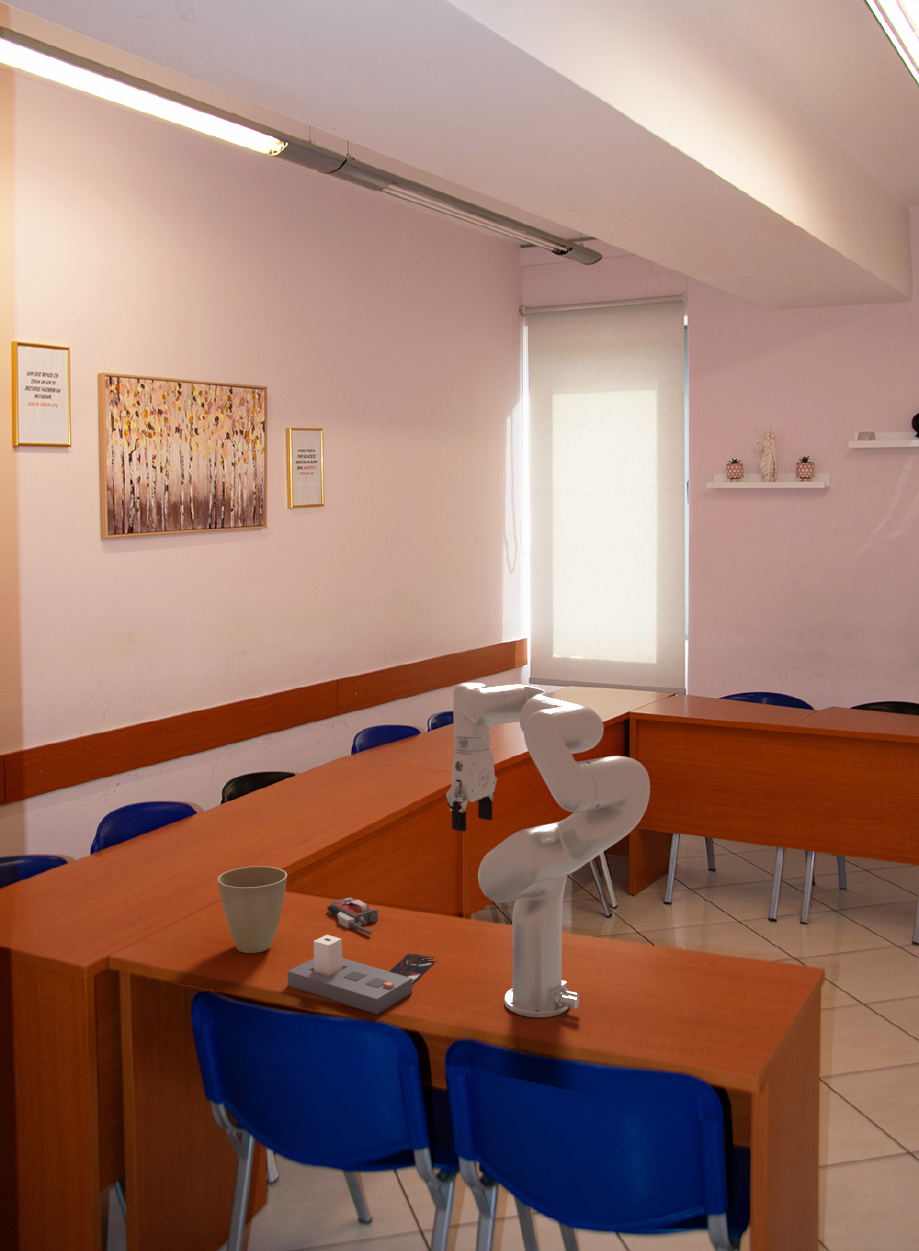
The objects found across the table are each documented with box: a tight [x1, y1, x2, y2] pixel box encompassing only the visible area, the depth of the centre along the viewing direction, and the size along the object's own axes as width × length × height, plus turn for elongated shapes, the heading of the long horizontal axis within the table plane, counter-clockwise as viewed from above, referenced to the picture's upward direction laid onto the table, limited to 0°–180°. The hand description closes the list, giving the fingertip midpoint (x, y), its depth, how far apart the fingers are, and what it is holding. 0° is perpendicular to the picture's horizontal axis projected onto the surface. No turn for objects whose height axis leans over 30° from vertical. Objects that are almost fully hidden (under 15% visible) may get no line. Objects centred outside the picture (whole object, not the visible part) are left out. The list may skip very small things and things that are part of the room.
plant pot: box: [217, 865, 288, 954], centre depth 230 cm, size 15×15×16 cm
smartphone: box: [388, 953, 437, 986], centre depth 218 cm, size 7×1×15 cm
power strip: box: [287, 957, 413, 1015], centre depth 209 cm, size 23×11×4 cm, turn 56°
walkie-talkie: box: [326, 896, 379, 935], centre depth 246 cm, size 9×4×20 cm
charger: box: [313, 934, 343, 976], centre depth 212 cm, size 4×4×9 cm
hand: (472, 824), depth 217 cm, fingers open, 9 cm apart
